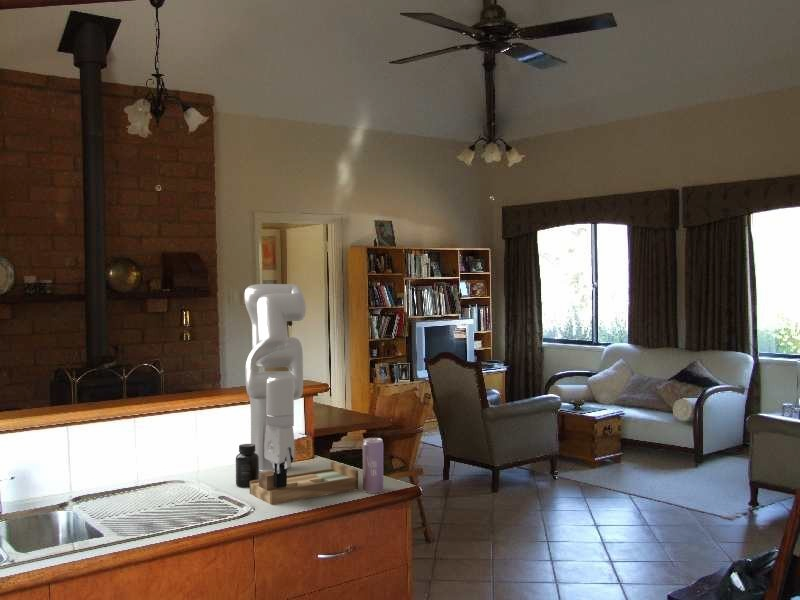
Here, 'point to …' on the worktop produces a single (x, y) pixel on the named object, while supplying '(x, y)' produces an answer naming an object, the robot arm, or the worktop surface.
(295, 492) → the trap trough
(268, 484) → the walnut block
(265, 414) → the robot arm
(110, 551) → the worktop surface
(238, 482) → the supplement bottle
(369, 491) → the beverage can
